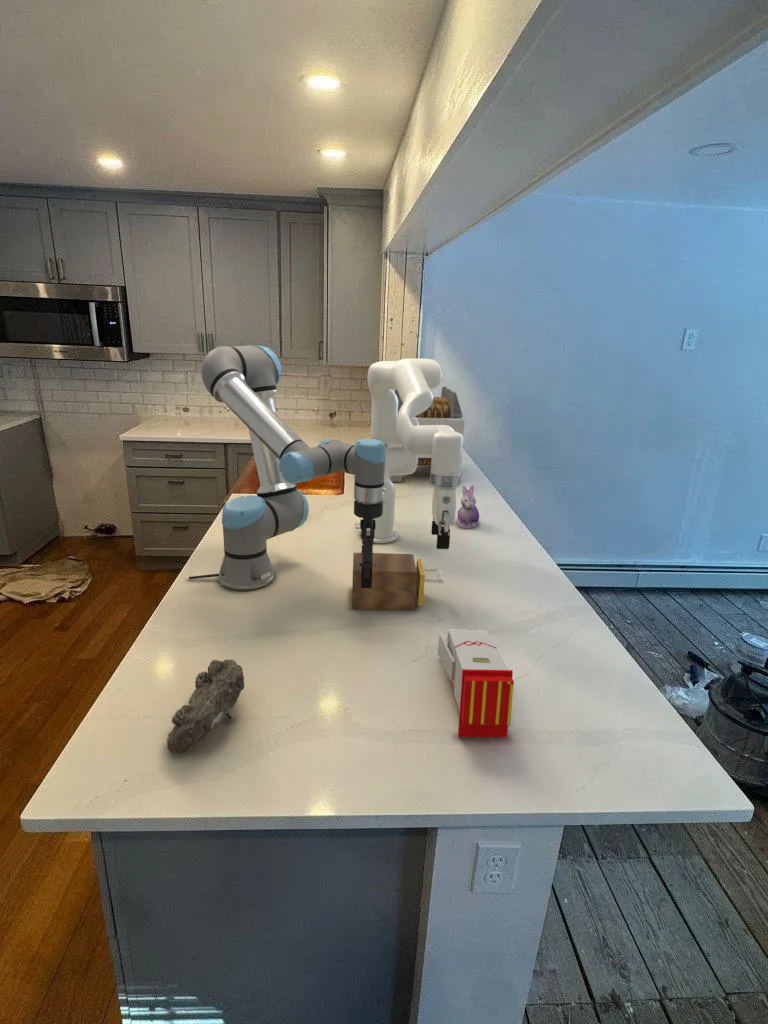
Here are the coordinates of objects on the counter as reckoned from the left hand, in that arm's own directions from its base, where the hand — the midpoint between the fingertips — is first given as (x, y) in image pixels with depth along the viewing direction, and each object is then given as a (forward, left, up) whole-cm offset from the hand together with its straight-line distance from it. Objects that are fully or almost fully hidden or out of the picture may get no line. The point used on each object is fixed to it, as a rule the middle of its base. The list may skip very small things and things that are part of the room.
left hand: (366, 577), depth 152 cm
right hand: (+18, +6, +10) cm, 22 cm away
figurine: (+22, +66, -7) cm, 70 cm away
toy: (+31, -32, -7) cm, 45 cm away
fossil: (-16, -54, -7) cm, 56 cm away
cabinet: (+4, +1, -7) cm, 8 cm away
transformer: (-7, +129, -7) cm, 130 cm away
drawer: (+10, +3, -5) cm, 12 cm away
